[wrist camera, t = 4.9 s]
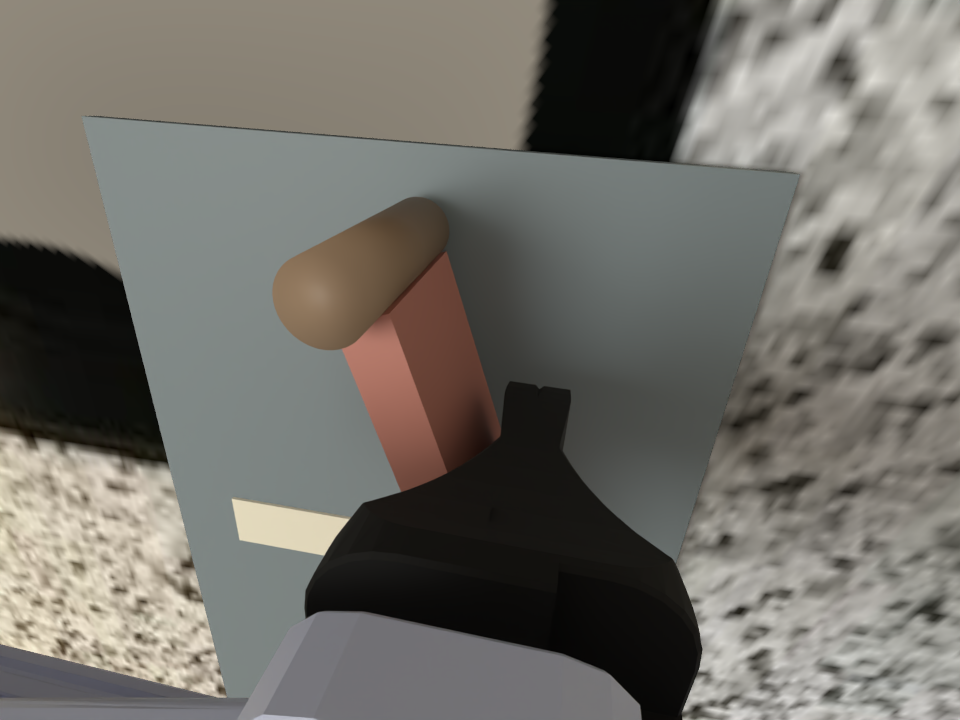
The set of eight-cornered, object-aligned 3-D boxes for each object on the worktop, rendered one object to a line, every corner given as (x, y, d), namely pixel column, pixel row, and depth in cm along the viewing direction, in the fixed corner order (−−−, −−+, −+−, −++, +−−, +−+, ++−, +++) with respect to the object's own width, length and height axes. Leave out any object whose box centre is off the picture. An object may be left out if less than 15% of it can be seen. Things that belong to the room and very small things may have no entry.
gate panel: (545, 549, 15) (532, 734, 11) (499, 553, 15) (468, 734, 11) (438, 188, 11) (346, 241, 7) (379, 206, 11) (256, 267, 7)
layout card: (599, 789, 21) (600, 803, 21) (237, 708, 23) (231, 719, 23) (792, 172, 11) (801, 175, 10) (94, 115, 13) (78, 115, 12)
